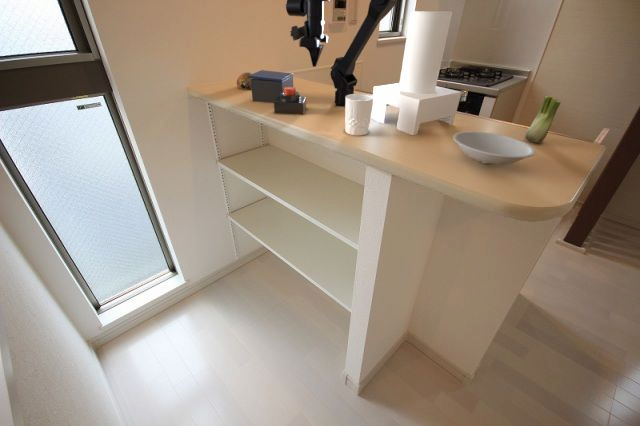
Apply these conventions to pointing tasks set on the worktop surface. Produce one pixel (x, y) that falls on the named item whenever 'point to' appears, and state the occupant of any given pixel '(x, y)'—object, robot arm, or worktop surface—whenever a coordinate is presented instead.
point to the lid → (270, 75)
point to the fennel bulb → (542, 120)
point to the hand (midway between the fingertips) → (314, 66)
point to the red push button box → (290, 104)
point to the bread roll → (244, 81)
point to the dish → (492, 147)
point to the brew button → (289, 90)
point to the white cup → (358, 113)
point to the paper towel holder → (420, 76)
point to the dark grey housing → (268, 89)
